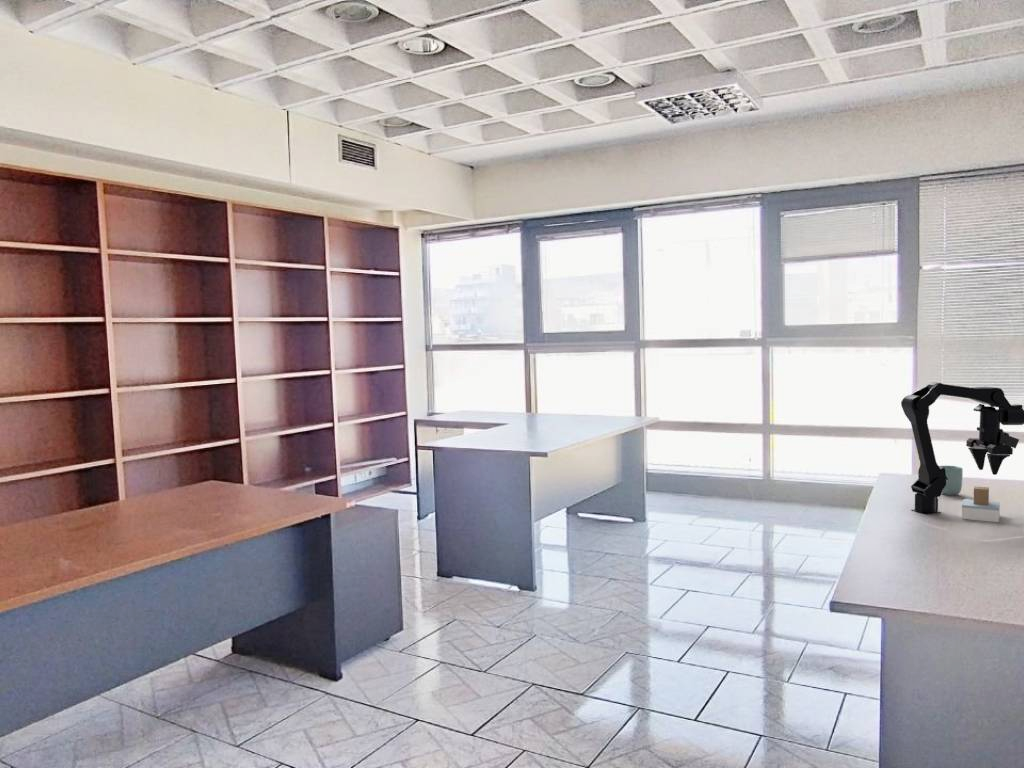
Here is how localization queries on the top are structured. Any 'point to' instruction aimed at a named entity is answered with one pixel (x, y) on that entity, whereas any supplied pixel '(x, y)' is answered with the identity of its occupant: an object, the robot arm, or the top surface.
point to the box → (980, 514)
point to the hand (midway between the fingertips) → (987, 472)
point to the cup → (953, 480)
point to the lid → (981, 500)
